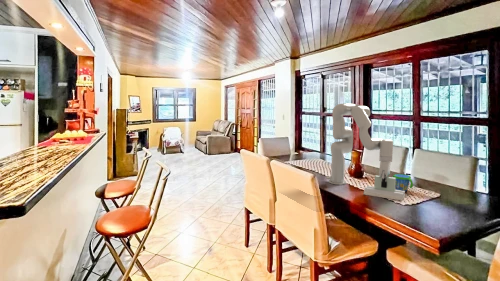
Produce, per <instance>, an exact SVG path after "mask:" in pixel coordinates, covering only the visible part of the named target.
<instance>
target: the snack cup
mask: <svg viewBox="0 0 500 281" xmlns="http://www.w3.org/2000/svg"><path fill="white" fill-rule="evenodd" d="M392 177H394V178H396V184H395V190H401V191H405V192H407V191H408V189H409V188H410V189H412V188H413V186H414V182H413V180H412V176H411V175H408V174H402V173H401V174H400V173H398V174H397V173H395V174H394V175H392Z"/></svg>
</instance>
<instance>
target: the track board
mask: <svg viewBox="0 0 500 281" xmlns="http://www.w3.org/2000/svg"><path fill="white" fill-rule="evenodd" d="M405 193H406V191H401V190H396V189H395V192H392V191H385V190H378V189H374V186H371V185H367V186H366V187H364V191H363V195H366V196H372V197H379V198H385V199H389V200H390V199H391V200H397V201H403V200H404V199H405V197H406V194H405Z"/></svg>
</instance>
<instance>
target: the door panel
mask: <svg viewBox="0 0 500 281" xmlns="http://www.w3.org/2000/svg"><path fill="white" fill-rule="evenodd" d="M384 177H385V176H384ZM381 181H382V176H379V175H375V176H374V186H373V187H374V189H378V190H385V191H392V192H395V190H396V189H395V184H396V178H394V177H393V176H392V177H391V176H388V177H387V181H386V182H387V188H383V187H381Z"/></svg>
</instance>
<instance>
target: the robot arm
mask: <svg viewBox="0 0 500 281" xmlns="http://www.w3.org/2000/svg"><path fill="white" fill-rule="evenodd" d="M331 113H332V137H333V138H334V139H335V140H337V141H334V142H332V143H331V144H330V153H331V167H330V168H331V170H330V171H331V174H330V176H328V175H326V176H325V179H326V180H328V183H329V184H332V185H337V186H338V185H346V184H347V181H346V180H345V167H346V163H345V162H346V158H345V155H344V154H349V153H351V152H352V150H353V146H354V144H353V143H354V141H353V140H354V133H353V132H354V131H353V130H352V128H351V127H350V126H346V125H345V124H346V121H345V118H344V116H352V118H353V120H354V122H355V124H356V125H357V127H358V130H359V132H358V133H359V134H358V136H359V140H360V142H361V144H362V145H363V147H364V148H365V149H366V150H368V151H377V150H379V158H378V160H379V162H380V163H379V169H378V170H379V171H378V176H382V181H381V187H383V188H387V182H386V181H387V177H390V174H391V163H392V162H393V153H394V152H393V150H394V149H393V148H394V141H393V140H392V139H386V138H385V139H383V138H381V137H380V138H379V137H375V138H374V137H373V138H372V137H371V136H370V134H369V129H370V127H371V126H372V122H371V120H370V118H369V117H370V116H371V110H370V108H369V107H368V106H366V105H362V104H361V105H360V104H357V103H356V104H355V103H345V102H344V103H338V104H336V105H335V106H334V107H333V109H332V112H331ZM384 176H385V177H384Z"/></svg>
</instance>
